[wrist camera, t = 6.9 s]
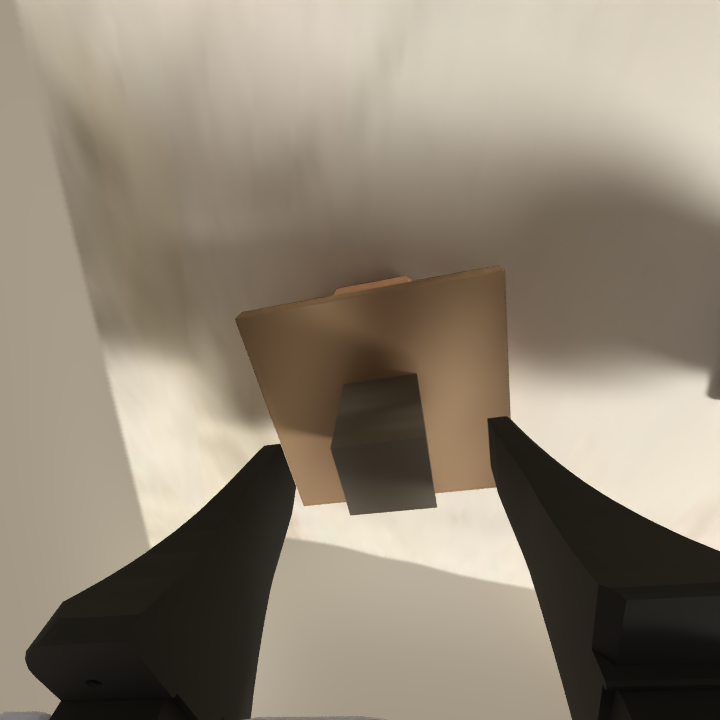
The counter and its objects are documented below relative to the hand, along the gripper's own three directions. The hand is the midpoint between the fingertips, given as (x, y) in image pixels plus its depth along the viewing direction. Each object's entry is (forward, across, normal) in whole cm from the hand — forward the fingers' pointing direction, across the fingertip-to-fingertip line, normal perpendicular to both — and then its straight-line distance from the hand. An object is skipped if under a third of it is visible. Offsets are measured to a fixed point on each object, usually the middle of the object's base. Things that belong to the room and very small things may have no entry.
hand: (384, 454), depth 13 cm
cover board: (+4, 0, 0) cm, 4 cm away
